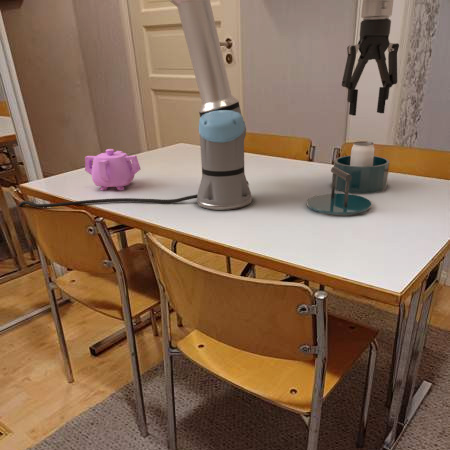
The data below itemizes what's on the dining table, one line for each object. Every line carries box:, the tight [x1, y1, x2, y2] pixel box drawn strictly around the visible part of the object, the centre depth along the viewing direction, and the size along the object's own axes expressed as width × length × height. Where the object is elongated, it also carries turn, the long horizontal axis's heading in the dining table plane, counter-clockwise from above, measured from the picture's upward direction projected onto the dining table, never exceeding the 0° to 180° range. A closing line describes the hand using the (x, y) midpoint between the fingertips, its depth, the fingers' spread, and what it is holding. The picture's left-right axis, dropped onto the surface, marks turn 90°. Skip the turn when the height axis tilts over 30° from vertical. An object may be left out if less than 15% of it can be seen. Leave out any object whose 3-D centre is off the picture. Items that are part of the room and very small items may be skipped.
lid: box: [306, 166, 372, 216], centre depth 122 cm, size 17×17×10 cm
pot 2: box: [333, 154, 391, 194], centre depth 138 cm, size 16×16×8 cm
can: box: [350, 140, 375, 167], centre depth 137 cm, size 6×6×12 cm
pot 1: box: [84, 148, 141, 191], centre depth 147 cm, size 18×17×12 cm
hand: (366, 113), depth 130 cm, fingers open, 8 cm apart
